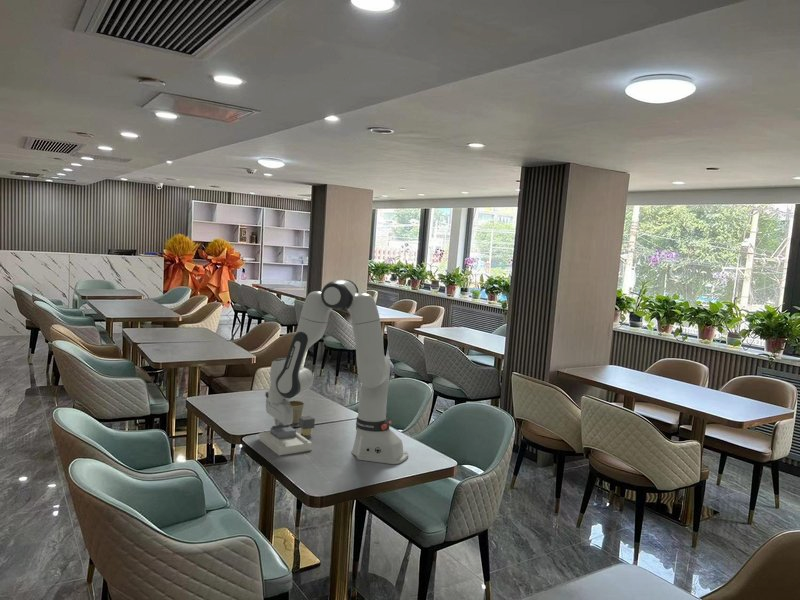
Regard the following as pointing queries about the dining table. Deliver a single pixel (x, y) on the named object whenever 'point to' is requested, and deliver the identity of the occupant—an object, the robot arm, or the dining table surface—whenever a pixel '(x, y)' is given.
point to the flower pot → (297, 410)
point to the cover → (283, 431)
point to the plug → (306, 424)
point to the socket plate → (285, 443)
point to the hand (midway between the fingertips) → (278, 429)
